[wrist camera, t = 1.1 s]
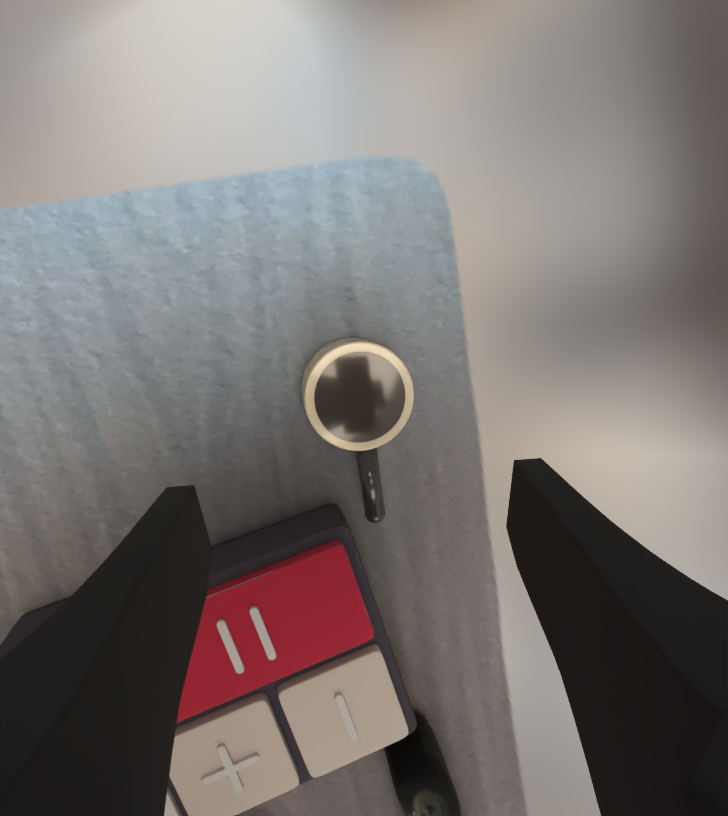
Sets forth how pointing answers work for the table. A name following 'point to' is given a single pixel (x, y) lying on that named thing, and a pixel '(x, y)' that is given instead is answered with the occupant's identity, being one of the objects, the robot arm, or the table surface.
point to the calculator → (278, 669)
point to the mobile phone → (422, 774)
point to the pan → (358, 405)
